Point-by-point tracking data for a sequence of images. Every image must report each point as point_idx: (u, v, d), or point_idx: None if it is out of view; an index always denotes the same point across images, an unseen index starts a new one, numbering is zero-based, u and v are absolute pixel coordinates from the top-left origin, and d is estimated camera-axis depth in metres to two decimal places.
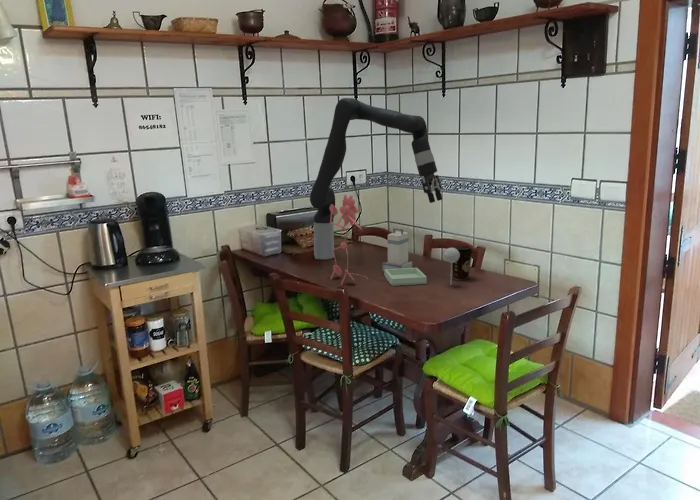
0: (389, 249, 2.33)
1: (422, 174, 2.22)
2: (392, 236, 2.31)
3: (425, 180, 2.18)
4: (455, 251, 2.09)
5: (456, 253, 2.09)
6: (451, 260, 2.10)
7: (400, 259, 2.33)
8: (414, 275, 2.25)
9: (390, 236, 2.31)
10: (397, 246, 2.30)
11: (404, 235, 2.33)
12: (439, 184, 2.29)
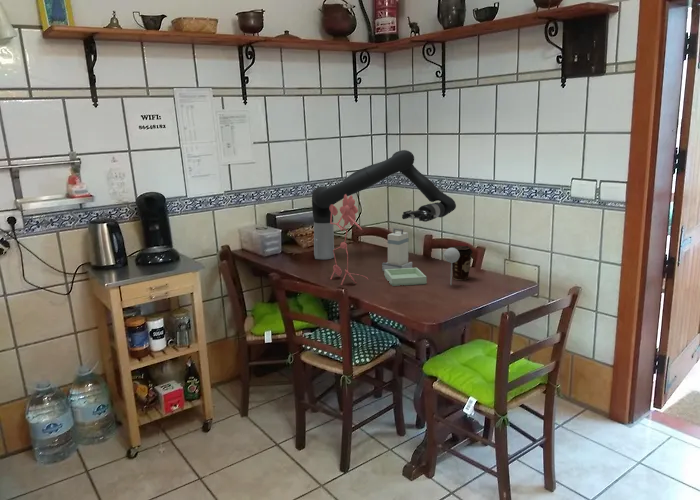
0: (389, 249, 2.33)
1: (431, 211, 2.48)
2: (392, 236, 2.31)
3: (435, 217, 2.44)
4: (455, 251, 2.09)
5: (456, 253, 2.09)
6: (451, 260, 2.10)
7: (400, 259, 2.33)
8: (414, 275, 2.25)
9: (390, 236, 2.31)
10: (397, 246, 2.30)
11: (404, 235, 2.33)
12: None
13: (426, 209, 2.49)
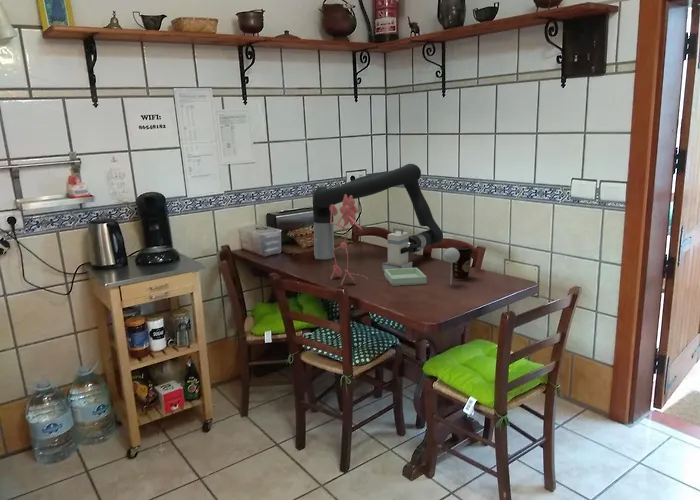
0: (389, 249, 2.33)
1: (416, 243, 2.41)
2: (392, 236, 2.31)
3: (419, 249, 2.37)
4: (455, 251, 2.09)
5: (456, 253, 2.09)
6: (451, 260, 2.10)
7: (400, 259, 2.33)
8: (414, 275, 2.25)
9: (390, 236, 2.31)
10: (397, 246, 2.30)
11: (404, 235, 2.33)
12: None
13: (411, 240, 2.42)
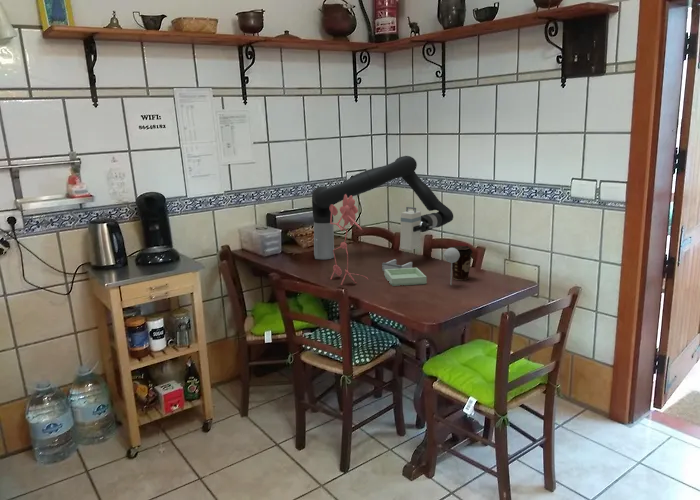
0: (402, 227, 2.40)
1: (428, 222, 2.48)
2: (405, 214, 2.38)
3: (430, 228, 2.43)
4: (455, 251, 2.09)
5: (456, 253, 2.09)
6: (451, 260, 2.10)
7: (413, 237, 2.39)
8: (414, 275, 2.25)
9: (403, 214, 2.38)
10: (410, 224, 2.37)
11: (417, 213, 2.39)
12: None
13: (423, 220, 2.48)
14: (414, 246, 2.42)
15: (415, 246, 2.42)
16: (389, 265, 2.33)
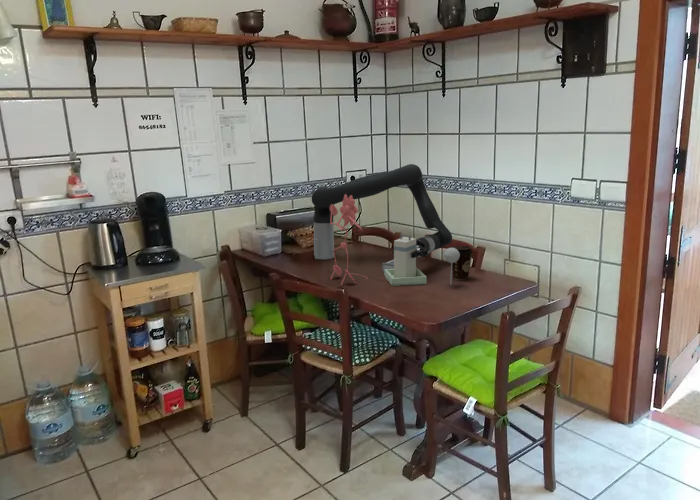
0: (396, 256, 2.17)
1: (425, 246, 2.25)
2: (399, 242, 2.15)
3: (429, 253, 2.21)
4: (455, 251, 2.09)
5: (456, 253, 2.09)
6: (451, 260, 2.10)
7: (407, 267, 2.17)
8: None
9: (397, 242, 2.16)
10: (405, 253, 2.15)
11: (412, 241, 2.17)
12: None
13: (419, 243, 2.25)
14: None
15: None
16: (389, 265, 2.33)
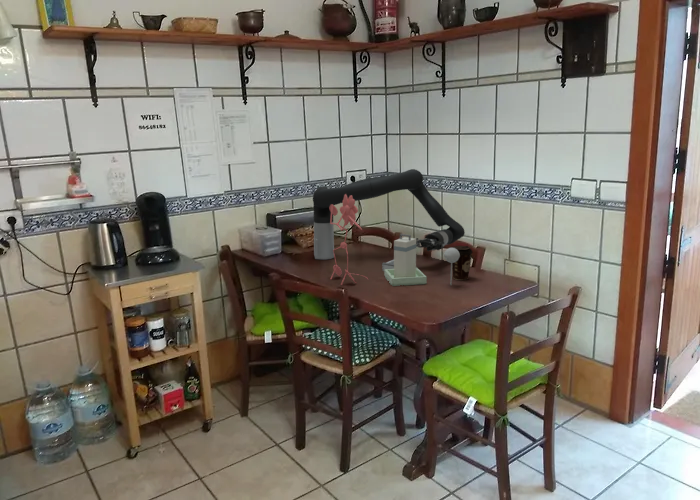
0: (396, 256, 2.17)
1: (439, 240, 2.35)
2: (399, 242, 2.15)
3: (443, 246, 2.31)
4: (455, 251, 2.09)
5: (456, 253, 2.09)
6: (451, 260, 2.10)
7: (407, 267, 2.17)
8: None
9: (397, 242, 2.16)
10: (405, 253, 2.15)
11: (412, 241, 2.17)
12: None
13: (434, 237, 2.36)
14: None
15: None
16: (389, 265, 2.33)
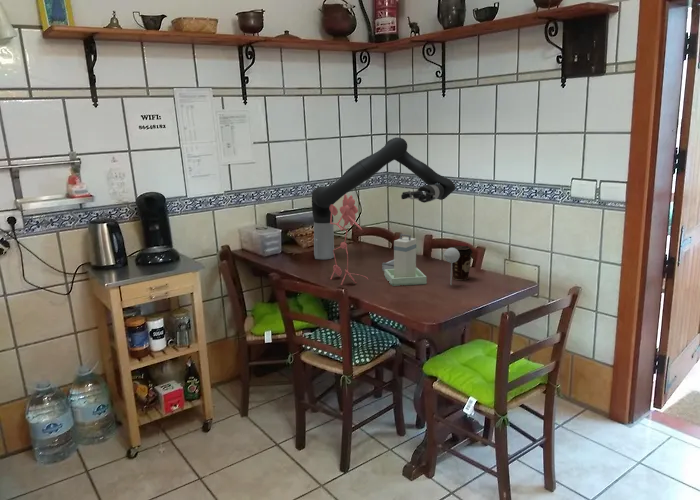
0: (396, 256, 2.17)
1: (430, 192, 2.47)
2: (399, 242, 2.15)
3: (434, 197, 2.43)
4: (455, 251, 2.09)
5: (456, 253, 2.09)
6: (451, 260, 2.10)
7: (407, 267, 2.17)
8: None
9: (397, 242, 2.16)
10: (405, 253, 2.15)
11: (412, 241, 2.17)
12: None
13: (425, 190, 2.48)
14: None
15: None
16: (389, 265, 2.33)
